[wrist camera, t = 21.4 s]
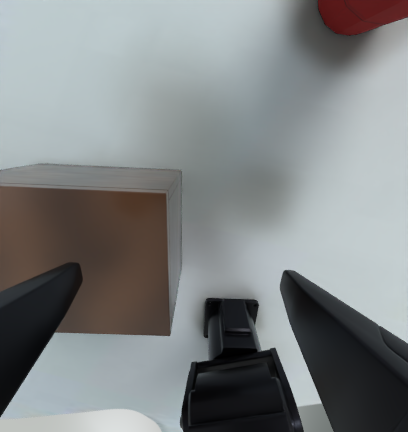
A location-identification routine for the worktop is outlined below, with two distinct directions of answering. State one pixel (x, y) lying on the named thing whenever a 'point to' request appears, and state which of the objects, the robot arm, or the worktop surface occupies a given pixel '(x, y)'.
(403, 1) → the plastic cup
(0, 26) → the worktop surface
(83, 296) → the cabinet
